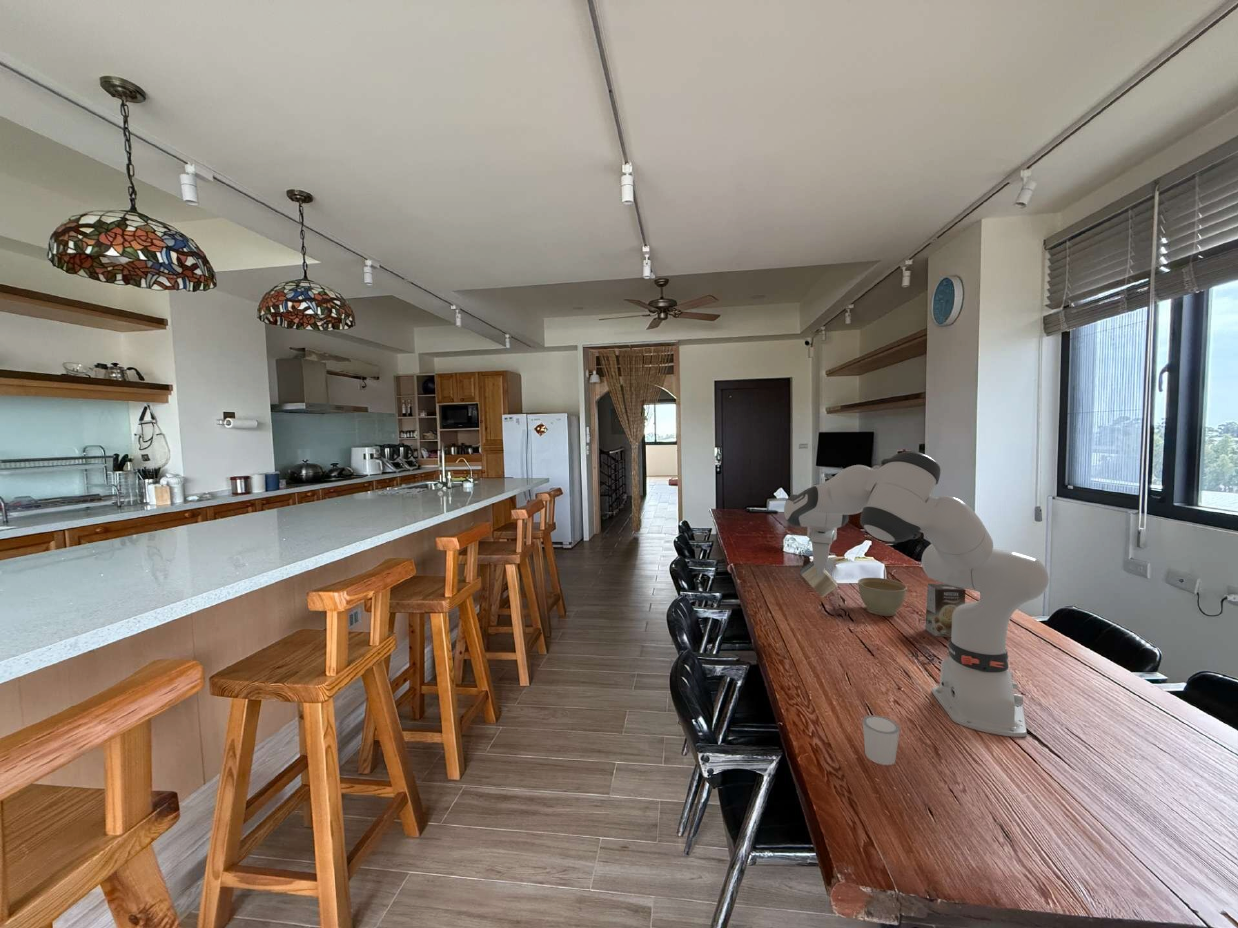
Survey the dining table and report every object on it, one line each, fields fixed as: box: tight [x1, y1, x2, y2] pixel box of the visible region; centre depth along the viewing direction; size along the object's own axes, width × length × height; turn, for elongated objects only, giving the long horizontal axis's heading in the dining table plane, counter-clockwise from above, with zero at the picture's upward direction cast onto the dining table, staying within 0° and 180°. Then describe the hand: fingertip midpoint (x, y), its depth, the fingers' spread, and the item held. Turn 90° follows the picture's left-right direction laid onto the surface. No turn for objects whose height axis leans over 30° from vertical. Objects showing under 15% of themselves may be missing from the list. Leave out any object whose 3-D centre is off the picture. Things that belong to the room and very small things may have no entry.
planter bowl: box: [857, 577, 907, 617], centre depth 186 cm, size 16×16×11 cm
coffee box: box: [924, 583, 967, 638], centre depth 166 cm, size 9×6×16 cm
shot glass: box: [862, 714, 900, 766], centre depth 104 cm, size 7×7×7 cm
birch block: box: [799, 560, 838, 599], centre depth 162 cm, size 5×6×10 cm
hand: (820, 574), depth 162 cm, fingers closed on birch block, 5 cm apart
